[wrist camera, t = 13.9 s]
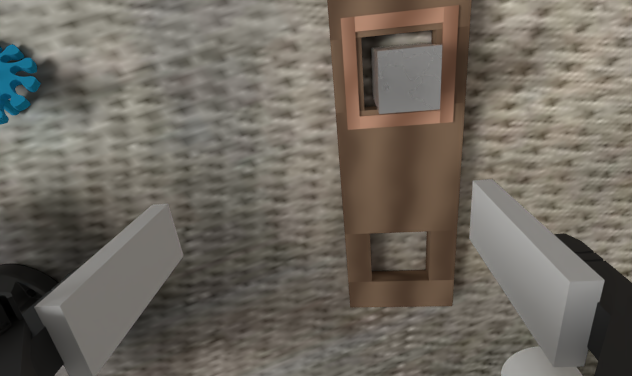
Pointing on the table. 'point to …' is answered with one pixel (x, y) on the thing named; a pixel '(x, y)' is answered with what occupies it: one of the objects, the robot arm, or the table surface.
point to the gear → (15, 81)
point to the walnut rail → (400, 151)
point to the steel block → (406, 77)
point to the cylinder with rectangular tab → (534, 365)
